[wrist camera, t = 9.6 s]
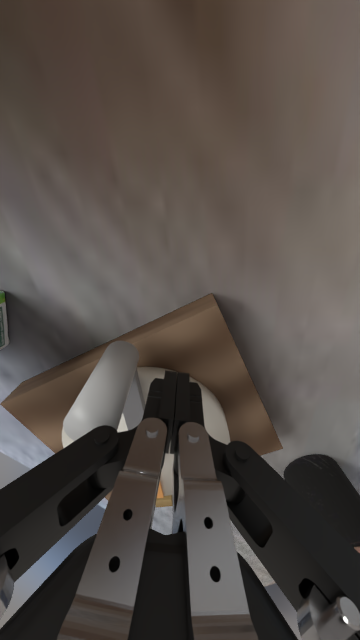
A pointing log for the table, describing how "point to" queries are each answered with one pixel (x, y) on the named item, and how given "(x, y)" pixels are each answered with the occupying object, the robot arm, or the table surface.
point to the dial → (130, 402)
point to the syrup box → (3, 322)
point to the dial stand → (163, 352)
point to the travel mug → (327, 493)
